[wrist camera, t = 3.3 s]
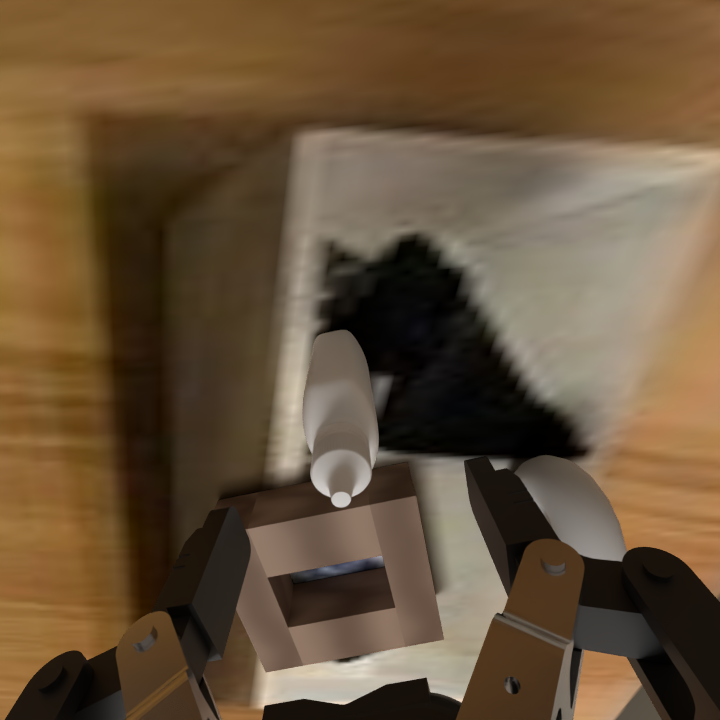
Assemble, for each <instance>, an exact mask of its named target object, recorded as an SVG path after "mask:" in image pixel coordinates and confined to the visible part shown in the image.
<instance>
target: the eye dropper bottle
mask: <svg viewBox="0 0 720 720" xmlns="http://www.w3.org/2000/svg"><path fill="white" fill-rule="evenodd" d="M303 427H304V432H305V436H306V440H307V443H308V446H309V448H310V451H311V453H312V461H311V469H310V476H311V481H312V483H313V484H314V486H315V488H317V490H319V492H321V493H322V494H324V495H326V496H329V497H331V501H332V503H333V505H335V506H336V507H346V506H347V505H349V503H350V502H351V498H352V497H353V496H355V495H357V494H359V493H360V492H362V491H363V490H364V489H365V488H366V487H367V486H368V484H369V483H370V481H371V476H372V469H373V466H374V464H375V461H376V457H377V453H378V444H379V434H378V424H377V418H376V412H375V406H374V400H373V394H372V388H371V382H370V376H369V370H368V365H367V361H366V358H365V355H364V353H363V351H362V349H361V347H360V345H359V343H358V342H357V340H356V339H355V337H354V336H353V335H352V333H351V332H349V331H348V330H337V331H332V332H328V333H323V334H320V335H319V336H317V337H316V339H315V341H314V345H313V350H312V355H311V360H310V364H309V369H308V374H307V379H306V385H305V391H304V398H303Z"/></svg>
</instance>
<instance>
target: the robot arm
mask: <svg viewBox="0 0 720 720" xmlns="http://www.w3.org/2000/svg"><path fill="white" fill-rule="evenodd" d="M464 466H465V473H466V480H467V487H468V494H469V499H470V504H471V507H472V511H473V514H474V516H475V519H476V521H477V523H478V526H479V528H480V531H481V533H482V536H483V538H484V540H485V543H486V545H487V548H488V550H489V552H490V555H491V557H492V560H493V562H494V564H495V567H496V569H497V572H498V574H499V576H500V579H501V581H502V584H503V586H504V588H505V591H506V593H507V596H508V600H507V603H506V606H505V609H504V611H503V613H502V614H500V613H497V614H496V615H495V616H494V617H493V619H492V622H491V624H490V627H489V630H488V632H487V635H486V638H485V641H484V643H483V646H482V649H481V652H480V654H479V657H478V660H477V663H476V665H475V668H474V671H473V674H472V676H471V679H470V682H469V685H468V687H467V690H466V693H465V696H464V698H463V701H462V703H461V702H459V701H457V700H455V699H453V698H450V697H448V696H444V695H441V694H437V693H431V692H430V690H429V686H428V682H427V678H422V679H416V680H410V681H405V682H399V683H393V684H387V685H385V686H383V687H381V688H379V689H377V690H374V691H372V692H370V693H368V694H366V695H364V696H362V697H360V698H358V699H356V700H354V701H352V702H350V703H348V704H345V705H339V704H333V703H326V702H320V701H314V700H307V699H301V700H295V701H289V702H283V703H278V704H272V705H266V706H265V707H264V713H263V719H262V720H573V716H574V710H575V704H576V698H577V692H578V686H579V679H580V673H581V667H582V661H583V655H584V650H589V651H595V652H601V653H607V654H613V655H618V656H624V657H627V659H628V660H629V662H630V664H631V666H632V667H633V669H634V671H635V673H636V675H637V676H638V678H639V680H640V682H641V683H642V685H643V687H644V689H645V691H646V692H647V694H648V696H649V698H650V699H651V701H652V703H653V704H654V707H655V708H656V710H657V712H658V714H659V715H660V717H661V719H662V720H720V602H719V601H718V600H717V598H716V597H715V596H714V595H713V594H712V593H711V592H710V590H709V589H708V588H707V587H706V586H705V585H704V584H703V582H702V581H701V580H700V579H699V578H698V577H697V576H696V574H695V573H694V572H693V571H692V570H691V569H690V568H689V567H688V566H687V565H686V564H685V563H684V562H683V561H682V560H680V559H679V558H677V557H676V556H674V555H672V554H670V553H668V552H666V551H663V550H660V549H657V548H651V547H638V548H633V549H631V550H629V551H628V552H626V553H625V555H624V556H623V559H622V561H612V560H602V559H594V558H589V557H586V556H583V555H580V554H579V553H578V552H577V551H576V550H575V549H574V548H572V547H571V546H569V545H568V544H566V543H564V542H561V540H560V539H559V538H558V536H557V535H556V533H555V531H554V530H553V528H552V527H551V525H550V524H549V522H548V521H547V519H546V517H545V516H544V514H543V513H542V511H541V510H540V508H539V507H538V505H537V504H536V502H535V501H534V499H533V497H532V496H531V494H530V493H529V491H527V488H526V487H525V485H524V483H523V482H522V480H521V479H520V477H518V476H517V475H515V474H514V473H513V472H511V471H510V470H508V469H507V468H506V469H501V470H496V471H495V470H494V468H493V466H492V464H491V463H490V461H489V459H488V458H487V457H486V456H484V457H479V458H474V459H469V460H465V461H464ZM250 556H251V545H250V540H249V537H248V535H247V532H246V530H245V528H244V525H243V523H242V521H241V518H240V516H239V513H238V511H237V509H236V508H235V507H234V506H231V507H226V508H221V509H216V510H212V511H210V513H209V514H208V517H207V519H206V521H205V523H204V525H203V528H199V529H197V530H196V531H195V532H194V533H193V534H192V535H191V536H190V538H189V539H188V540H187V541H186V542H185V544H184V546H183V548H182V550H181V552H180V554H179V559H177V561H176V563H175V565H174V567H173V570H172V571H171V573H170V575H169V577H168V579H167V581H166V583H165V585H164V587H163V589H162V591H161V593H160V595H159V598H158V600H157V602H156V604H155V606H154V608H153V610H152V612H151V613H150V614H148V615H146V616H144V617H142V618H141V619H139V620H138V621H136V622H135V623H134V624H133V625H132V626H131V627H130V628H129V629H128V630H127V631H126V632H125V634H124V635H123V636H122V638H121V640H120V641H119V644H118V646H116V647H114V648H112V649H110V650H108V651H106V652H104V653H102V654H100V655H98V656H96V657H94V658H91V659H89V660H86V658H85V657H84V656H83V654H82V653H81V652H79V651H68V652H65V653H63V654H61V655H59V656H57V657H55V658H54V659H52V660H51V661H49V662H48V663H47V664H46V665H44V666H43V667H42V668H41V669H40V670H39V671H38V672H37V673H36V674H35V675H34V676H33V677H32V679H31V680H30V681H29V683H28V684H27V685H26V687H25V689H24V690H23V692H22V693H21V695H20V696H19V698H18V700H17V701H16V703H15V704H14V706H13V708H12V709H11V711H10V712H9V714H8V715H7V717H6V719H5V720H222V719H221V716H220V714H219V711H218V708H217V706H216V703H215V701H214V698H213V696H212V693H211V690H210V688H209V685H208V683H207V680H206V678H205V676H204V674H203V673H204V669H205V666H206V663H207V662H208V661H214V660H220V659H222V657H223V653H224V650H225V646H226V643H227V639H228V636H229V632H230V628H231V625H232V621H233V618H234V614H235V611H236V607H237V603H238V600H239V596H240V593H241V589H242V585H243V582H244V578H245V575H246V571H247V568H248V564H249V560H250Z"/></svg>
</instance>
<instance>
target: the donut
mask: <svg viewBox="0 0 720 720" xmlns="http://www.w3.org/2000/svg"><path fill="white" fill-rule="evenodd" d="M514 474H515V475H517V476H518V477H520V479H521V480H522V482H523V483H524V485H525V487H526V488H527V491H529V493H530V494H531V496H532V497H533V499H534V501H535V502H536V504H537V505H538V507H539V508H540V510H541V511H542V513H543V514H544V516H545V517H546V519H547V521H548V522H549V524H550V525H551V527H552V528H553V530H554V531H555V533H556V535H557V536H558V538H559V539H560V540H561V542H564V543H566V544H568V545H569V546H571V547H572V548H574V549H575V550H576V551H577V552H578V553H579V554H580V555H583V556H586V557H589V558H594V559H602V560H612V561H622V559H623V556H624V555H625V553H626V552H627V550H626V546H625V542H624V538H623V534H622V531H621V527H620V523H619V521H618V519H617V517H616V515H615V513H614V510H613V508H612V506H611V504H610V502H609V500H608V498H607V497H606V495H605V494H604V493H603V491H602V490H601V489H600V487H599V486H598V485H597V483H596V482H595V481H594V479H593V478H592V477H591V476H590V475H589V474H588V473H586V472H585V471H584V470H583V469H581V468H580V467H579V466H577V465H576V464H575V463H573V462H571V461H569V460H567V459H563V458H559V457H555V456H550V455H542V456H538V457H535V458H532V459H529V460H527V461H525V462H523V463H522V464H521V465H520V466H519V468H518V469H517V470H516V471H515V472H514Z"/></svg>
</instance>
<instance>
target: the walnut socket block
mask: <svg viewBox="0 0 720 720" xmlns="http://www.w3.org/2000/svg"><path fill="white" fill-rule="evenodd" d="M231 506H234V507H235V508H236V509H237V511H238V513H239V516H240V518H241V521H242V523H243V525H244V528H245V530H246V532H247V535H248V537H249V540H250V545H251V556H250V560H249V564H248V568H247V571H246V575H245V578H244V582H243V585H242V589H241V593H240V596H239V600H238V603H237V607H236V610H237V612H238V614H239V617H240V619H241V621H242V623H243V625H244V627H245V629H246V631H247V633H248V636H249V638H250V640H251V642H252V644H253V646H254V648H255V650H256V652H257V655H258V657H259V659H260V661H261V663H262V665H263V667H264V669H265V671H266V672H271V671H276V670H282V669H287V668H293V667H298V666H303V665H309V664H314V663H320V662H325V661H331V660H336V659H341V658H347V657H352V656H358V655H363V654H368V653H374V652H379V651H385V650H390V649H396V648H401V647H406V646H412V645H417V644H423V643H428V642H434V641H439V640H444V637H443V632H442V627H441V621H440V616H439V611H438V606H437V601H436V596H435V591H434V586H433V580H432V575H431V570H430V565H429V560H428V555H427V550H426V545H425V540H424V534H423V529H422V524H421V519H420V514H419V509H418V504H417V499H416V494H415V490H414V486H413V482H412V479H411V475H410V471H409V467H408V463H407V462H406V463H401V464H396V465H391V466H386V467H381V468H376V469H372V476H371V481H370V483H369V484H368V486H367V487H366V488H365V489H364V490H363V491H362V492H360V493H359V494H357V495H355V496H353V497H352V498H351V502H350V503H349V505H347V506H346V507H336V506H335V505H333V503H332V501H331V497H329V496H326V495H324V494H322V493H321V492H319V490H317V488H315V486H314V484H313V483H312V481H311V482H306V483H301V484H296V485H291V486H286V487H281V488H276V489H271V490H266V491H261V492H256V493H251V494H247V495H242V496H237V497H232V498H227V499H222V500H218V502H217V505H216V507H215V509H214V510H216V509H221V508H226V507H231ZM377 556H383V560H384V564H385V567H383V568H378V569H373V570H368V571H363V572H357V573H352V574H347V575H342V576H337V577H331V578H326V579H321V580H316V581H311V582H305V583H300V584H295V585H294V584H293V582H292V579H291V576H290V574H289V573H294V572H299V571H304V570H309V569H315V568H320V567H325V566H330V565H335V564H340V563H346V562H351V561H356V560H361V559H366V558H371V557H377Z"/></svg>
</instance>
